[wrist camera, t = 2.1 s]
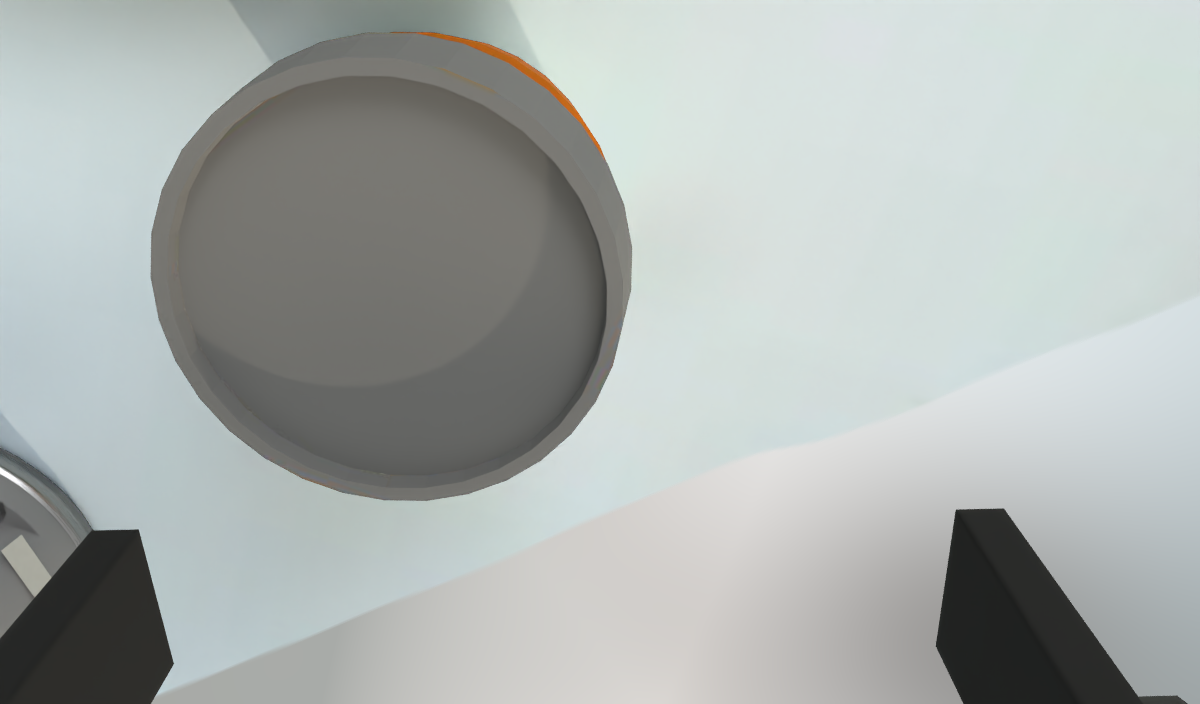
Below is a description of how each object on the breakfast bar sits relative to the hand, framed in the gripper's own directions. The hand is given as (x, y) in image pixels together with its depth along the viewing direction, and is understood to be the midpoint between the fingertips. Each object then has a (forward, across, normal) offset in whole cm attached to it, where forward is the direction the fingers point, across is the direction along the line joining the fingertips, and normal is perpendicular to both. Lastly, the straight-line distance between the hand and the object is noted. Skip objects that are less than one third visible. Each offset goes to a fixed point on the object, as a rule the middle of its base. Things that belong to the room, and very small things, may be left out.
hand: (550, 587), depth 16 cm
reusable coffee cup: (+25, -4, +1) cm, 26 cm away
